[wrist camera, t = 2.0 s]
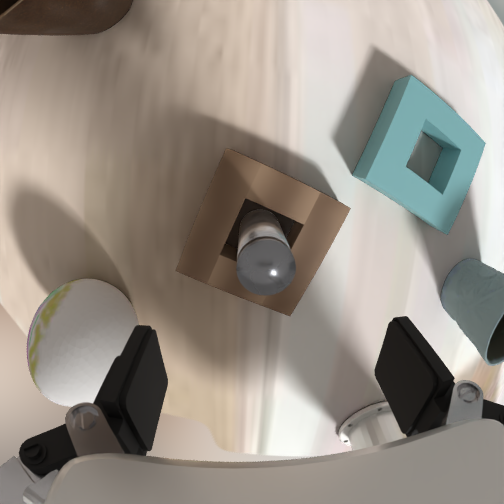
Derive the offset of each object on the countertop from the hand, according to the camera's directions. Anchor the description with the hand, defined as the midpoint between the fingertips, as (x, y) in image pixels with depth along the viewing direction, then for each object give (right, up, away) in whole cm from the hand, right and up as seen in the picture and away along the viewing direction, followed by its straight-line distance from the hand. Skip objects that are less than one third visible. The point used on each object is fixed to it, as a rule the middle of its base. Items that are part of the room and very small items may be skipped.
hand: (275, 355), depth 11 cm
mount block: (0, +6, +18) cm, 19 cm away
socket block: (+17, +14, +16) cm, 27 cm away
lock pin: (0, +6, +18) cm, 19 cm away
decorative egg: (-19, -3, +22) cm, 29 cm away
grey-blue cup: (+28, -1, +21) cm, 36 cm away
